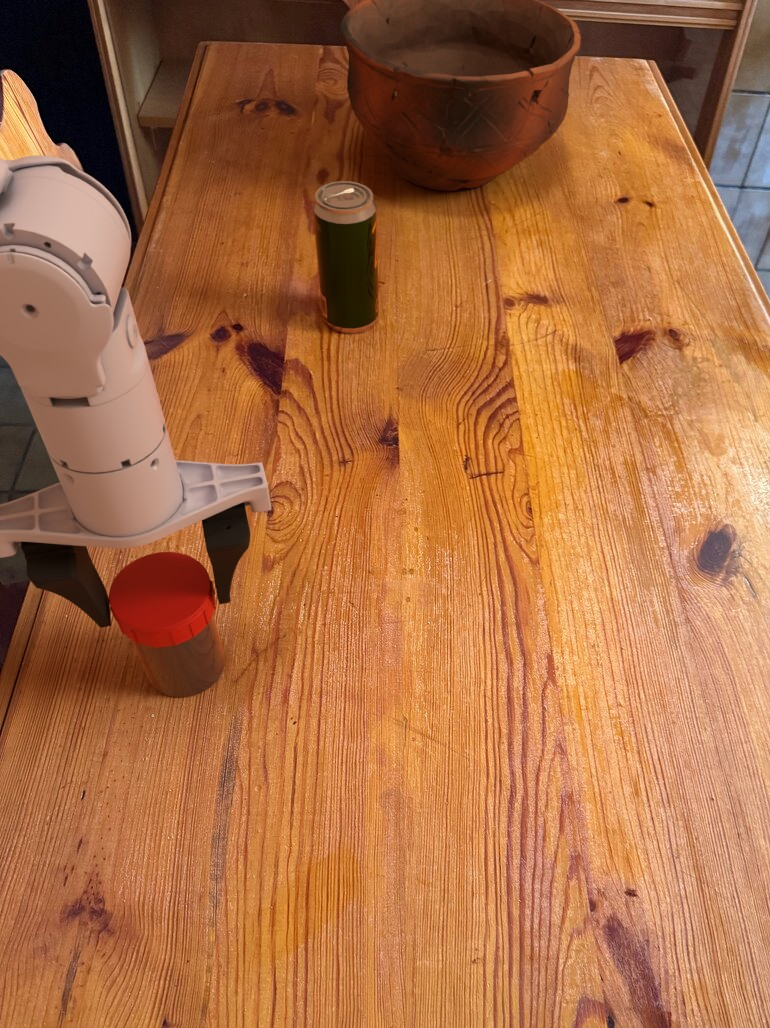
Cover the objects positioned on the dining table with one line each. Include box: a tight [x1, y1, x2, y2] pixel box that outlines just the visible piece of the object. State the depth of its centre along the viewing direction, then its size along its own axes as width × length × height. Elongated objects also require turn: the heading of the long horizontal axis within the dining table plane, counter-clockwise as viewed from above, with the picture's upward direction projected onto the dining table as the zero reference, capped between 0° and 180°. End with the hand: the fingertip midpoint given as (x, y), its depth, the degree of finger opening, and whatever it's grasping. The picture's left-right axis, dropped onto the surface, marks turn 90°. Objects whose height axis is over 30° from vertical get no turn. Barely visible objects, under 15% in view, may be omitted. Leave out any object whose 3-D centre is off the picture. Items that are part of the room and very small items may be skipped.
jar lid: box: [108, 551, 217, 648], centre depth 54 cm, size 6×6×2 cm
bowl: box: [339, 0, 582, 192], centre depth 97 cm, size 25×25×15 cm
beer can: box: [312, 180, 380, 334], centre depth 80 cm, size 5×5×12 cm
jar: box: [131, 613, 226, 698], centre depth 57 cm, size 5×5×8 cm
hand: (164, 602), depth 54 cm, fingers open, 6 cm apart
